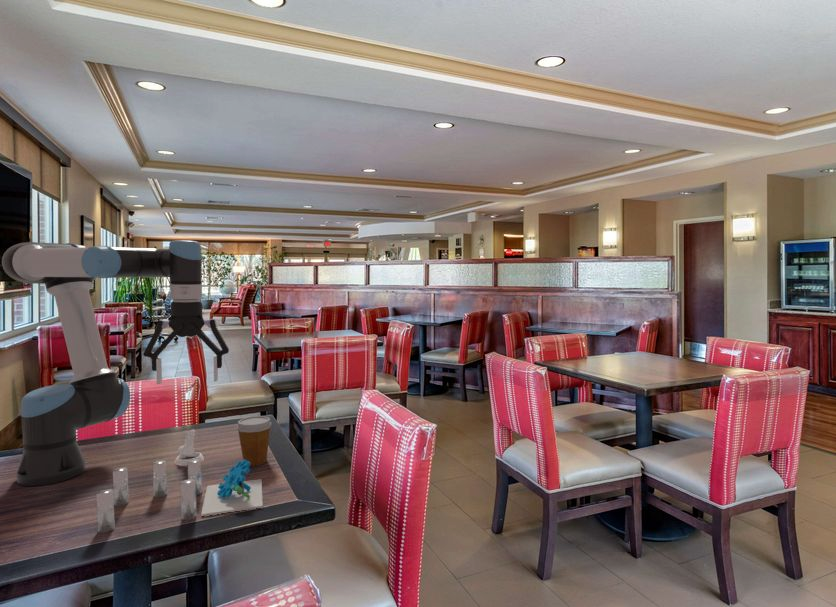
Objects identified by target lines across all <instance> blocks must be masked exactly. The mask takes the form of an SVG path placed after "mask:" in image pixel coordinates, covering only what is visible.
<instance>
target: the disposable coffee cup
mask: <svg viewBox="0 0 836 607" xmlns="http://www.w3.org/2000/svg"><path fill="white" fill-rule="evenodd" d="M271 426H272V422H271V418H270V417H268V416H263V415H262V416H259V415H258V416H257V415H256V416H249V417H244V418H241V419H240V420H238V421H237V425H236V429H237V431H238V437H239V443H240V449H241V455H242V461H243V460H244V459H245V460H246V461H249V462H250V466H249V467H252V466H253V467H254V466H255V465H256V466H261V465H263V464H265V463H267V460H268V450H269V442H270V440H269V439H270V431H271Z"/></svg>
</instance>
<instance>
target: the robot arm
mask: <svg viewBox="0 0 836 607" xmlns="http://www.w3.org/2000/svg"><path fill="white" fill-rule="evenodd" d="M202 260H203V256H202V248H201V243H200V242H198V241H195V240H171V241H170V242H169V246H168V248H152V247H151V248H150V247H124V246H122V247H121V246H109V245H97V246H96V245H95V246H94V245H92V246H86V245H80V244H74V243H70V242H69V243H68V242H67V243H56V242H35V241H27V242H20V243H17V244H13V245H12V246H10V247H9V248H7V249H6V251H4V253H3V256H2V257H1V267H2V269H3V271H4V273H5V274H6V275H8V276H9V277H10V278H11V279H13V280H15V281H18V282H20V283H24V284H38V285H39V284H41V285H42V284H45V290H46V293H48V294H50V295H51V296H53V297H54V300H55V304H56V307H57V312H58V315H59V320H60V324H61V328H62V332H63V336H64V340H65V344H66V348H67V352H68V356H69V360H70V364H71V368H72V369H71V370H72V373H73V377H72V379H71V380H70V381H69V383H60V384H58V383H57V384H55V385H48V386H47V385H46V386H43V387H40V388H37V389H34V390H32V391H30V392H28V393H26V394H24V396H23V397H22V398H21V404H20V412H19V414H20V417H21V429H22V430H21V431H22V434H21V435H22V446H23V447H22V448H23V450H22V451H23V452H22V455H21V457H20V461H19V464H18V467H17V470H16V474H15V475H16V476H15V477H16V483H17V484H18V485H20V486H24V487H26V486H27V487H28V486H29V487H32V486H33V487H34V486H45V485H52V484H56V483H60V482H63V481H64V482H65V481H67V480H70V479H73V478H75V477H77V476H79V475H81V474H82V473H83V472H85V471H86V469H87V468H86V458H85V456H84V454H83V452H82V451H81V450H82V449H81V448H80V446H79V444H78V441H77V430H80V429H84V428H87V427H92V426H95V425H98V424H101V423H107V422H110V421H112V420H114V419H118V418H119V417H120V418H121V417H122V416H123V415H124V414H125V413H126V412H127V410H128V408H129V406H130V403H131V402H130V401H131V389H130V387H129V385H128V383H127V382H126V381H125V380H124V379H123V378H118V377H117V373H116V371H114V370H113V369H111V368H109V366H108V363H107V358H106V355H105V351H104V347H103V346H104V345H103V343H102V337H101V335H100V330H99V326H98V323H97V319H96V314H95V311H94V306H93V303H92V298H91V295H90V290H91V289H92V288H93V286H94V282H93V281H95V280H96V279H115V278H116V279H118V278H123V279H124V278H169V284H170V285H169V286H170V287H169V288H170V289H169V290H170V291H169V293H170V296H169V298H170V300H172V301H171V302H170V319H169V320H164V319H162V318H161V319H159V320H157V322H156V329H155V330H154V333H153V334H152V336H151V338H150V340H149V342H148V344H147V346H146V348H145V350H144V352H143V354H142V355H143V357H147V358H150V359H151V371H153V372H155V373H156V385H161V384H162V383H163V380H162V379H163V377H162V375H163V374H162V373H163V371H162V370H163V368H162V356H161V357H160V356H159V355H161V353H162V352H163V351H164V350H165V349H166V347H168V345H169V344H170V343H171V342H172V341H173V340H174V339H175V337H176V336H178V337H180V338H185V337H189V338H193V337H196V336H197V337H198V338H199V339H201V341H202V342H203V343H204V344H205V345H206V346H208V348H209V349H210V350H211V351H212V352H213V353H214V354H215V355H213V382H218V380H219V376H218V374H219V372H218V371H219V369H221V368H222V366H223V356H224V355H227V354H228V353H230V348H229V347H228V345H227V343H226V341H225V340H224V338H223V337H222V334H221V332H220V331H219V329H218V327H217V322H216V321H217V320H216V318H214V317H213V318H211V319H204V317H203V302H202V301H200V300H202V299H203V282H202V280H203V277H202V276H203V274H202V271H203V270H202V269H203V268H202V263H203V261H202ZM168 326H169V327H170V328H171V330H172V332H170V334H169V335H168V336H167V338H165V340H164V341H163V342H162V343H161V344H160V345H159V346H158V347H157V348H156V350H154V351H153V349H154V347H155V345H156V343H157V341H158V340H159V337H160V336H161V335H162V332H163V330H164V329H166V328H167V327H168ZM204 326H207V328H209V329H210V331H211V332H212V334H213V336H214V337H215V339H216V341H217V343H218V344H219V346H220V348H221V349H220V348H219V347H218V346H217V345H216V344H215V343H214V342H213V341H212V340H211V338H209V336H207V334H206V333H205V332H204V331H203V330H202V328H203V327H204Z"/></svg>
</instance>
